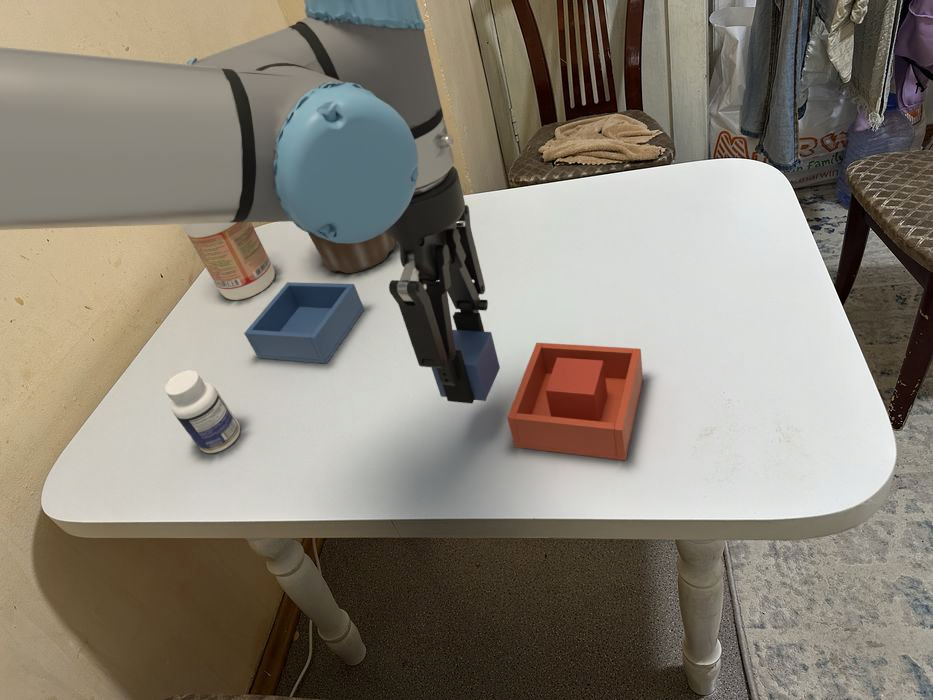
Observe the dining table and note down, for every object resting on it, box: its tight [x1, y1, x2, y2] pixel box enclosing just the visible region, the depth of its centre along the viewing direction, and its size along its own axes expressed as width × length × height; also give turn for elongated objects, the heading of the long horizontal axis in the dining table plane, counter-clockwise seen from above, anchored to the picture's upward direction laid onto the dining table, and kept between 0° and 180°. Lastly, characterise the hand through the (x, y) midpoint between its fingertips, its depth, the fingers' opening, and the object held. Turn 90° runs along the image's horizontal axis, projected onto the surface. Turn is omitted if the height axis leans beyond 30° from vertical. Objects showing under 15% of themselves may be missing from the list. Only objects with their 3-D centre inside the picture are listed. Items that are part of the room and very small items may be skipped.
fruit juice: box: [181, 222, 276, 301], centre depth 100 cm, size 9×9×28 cm
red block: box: [546, 358, 607, 422], centre depth 69 cm, size 5×5×5 cm
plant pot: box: [307, 232, 396, 274], centre depth 103 cm, size 16×16×16 cm
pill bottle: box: [164, 369, 241, 454], centre depth 78 cm, size 5×5×10 cm
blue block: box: [430, 329, 501, 402], centre depth 67 cm, size 5×5×5 cm
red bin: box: [506, 342, 644, 461], centre depth 70 cm, size 12×12×5 cm
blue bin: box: [243, 281, 365, 364], centre depth 93 cm, size 12×12×5 cm
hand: (470, 380), depth 69 cm, fingers closed on blue block, 5 cm apart
